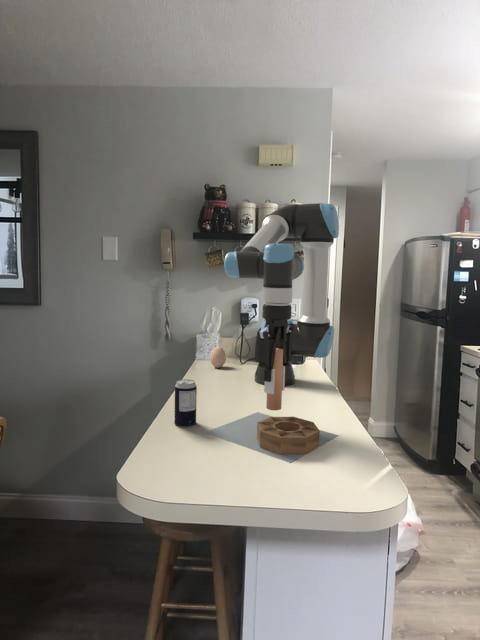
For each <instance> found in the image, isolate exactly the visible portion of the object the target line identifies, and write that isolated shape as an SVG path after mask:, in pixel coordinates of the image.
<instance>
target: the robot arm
mask: <svg viewBox="0 0 480 640" xmlns="http://www.w3.org/2000/svg"><path fill="white" fill-rule="evenodd" d="M339 233H340V224H339V215H338V211H337V208H336V206H335V205H334V204H332V203H322V202H320V203H319V202H318V203H301V204H300V203H298V204H296V203H292V204H288V205H284V206H282V207H279V208H277V209H276V210H274V211H272V212H271V213H269V215H267V216H266V217H265V218H264V220H263V221H262V223H261V227H260V228H259V229H258V230H257V232H256V233H255V234H254V235H253V236H252V237H251V238H250V240H249V241H248V242H247V243H246V244H245V246H244V247H242V249H240V251H236V250H235V251H229V252H227V253H226V255H225V257H224V262H223V268H224V272H225V275H226V276H227V277H228V278H234V279H235V278H236V279H261V280H262V279H263V285H262V286H263V289H262V290H263V291H262V294H263V295H262V302H263V303H264V304H263V305H262V313H261V314H262V319H264V322H263V321H262V324H261V327H260V329H258V330H257V331H256V332H257V333H256V334H257V337H258V364H257V366H256V370H255V373H254V381H255V382H256V383H258V384H261V385H264V388H263V389H264V392H263V393H266V394H267V393H269V394H274V387H275V369H273V365H274V358H275V351H276V348H280V349H283V374H282V392H283V391H285V386H290V385H293V384H295V383H296V382H295V381H296V380H295V379H296V376H295V375H296V374H295V371H294V368H293V364H292V356H298V357H306V358H307V357H308V358H314V359H317V358H318V359H321V358H323V359H324V358H327V357H328V356H329V355H330V353H331V349H332V347H333V342H334V335H335V326H333V325H331V321H330V318H328V317H327V299H328V298H327V296H328V295H327V293H328V278H329V276H328V273H329V251H330V248H331V246H332V245H334V244H335V243H334V241H335V239H337V238H339V235H340V234H339ZM289 238H291V239H293V238H294V239H295V238H296V239H299V244H300V245H301V246H302V247H303V258H302V256H300V255H299V254H297V253H296V252H294V246H293V245H292V244H291V243H279V242H281V241H283V240H285V239H289ZM301 275H302V295H301V296H302V299H301V315H300V316H299V318H297V321H296V322H297V323H294V321H293V319H292V309H293V308H292V306H291V305H290V304H292V302H293V280H296V279H297V278H299V277H300V276H301Z"/></svg>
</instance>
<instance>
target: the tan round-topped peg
mask: <svg viewBox="0 0 480 640" xmlns="http://www.w3.org/2000/svg"><path fill="white" fill-rule="evenodd" d="M273 369H275V387H274V394H269V393H266V406H265V407H266V409H267V410H269V411H280V410H281V409H282V398H283V391H282V374H283V349H280V348H276V351H275V358H274V365H273Z"/></svg>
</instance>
